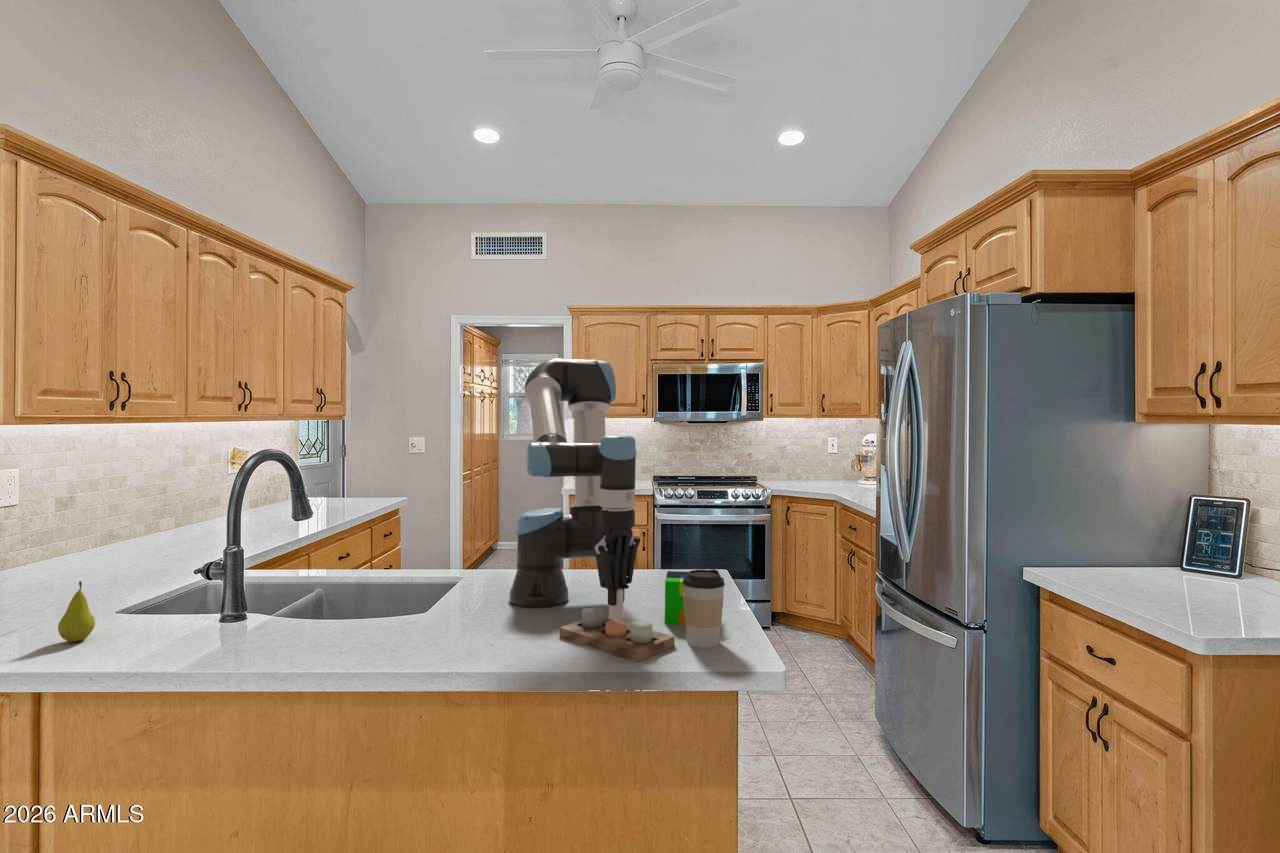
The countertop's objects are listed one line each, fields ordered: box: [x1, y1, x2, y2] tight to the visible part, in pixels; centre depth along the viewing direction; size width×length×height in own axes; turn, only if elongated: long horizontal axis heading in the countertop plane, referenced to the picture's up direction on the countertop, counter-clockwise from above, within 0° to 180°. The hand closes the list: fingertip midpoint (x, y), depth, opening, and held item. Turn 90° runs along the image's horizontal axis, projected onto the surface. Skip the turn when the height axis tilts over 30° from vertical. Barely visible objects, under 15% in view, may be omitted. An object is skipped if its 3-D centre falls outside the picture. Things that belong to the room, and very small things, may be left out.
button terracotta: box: [605, 620, 628, 638], centre depth 133 cm, size 4×4×3 cm
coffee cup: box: [682, 568, 726, 649], centre depth 133 cm, size 9×9×15 cm
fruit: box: [57, 580, 96, 643], centre depth 129 cm, size 6×6×12 cm
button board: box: [559, 615, 676, 663], centre depth 133 cm, size 22×12×2 cm, turn 50°
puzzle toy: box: [664, 570, 689, 626], centre depth 149 cm, size 10×10×10 cm
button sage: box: [630, 620, 654, 646], centre depth 129 cm, size 4×4×3 cm
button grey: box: [581, 607, 604, 630], centre depth 138 cm, size 4×4×3 cm
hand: (615, 619), depth 133 cm, fingers closed
